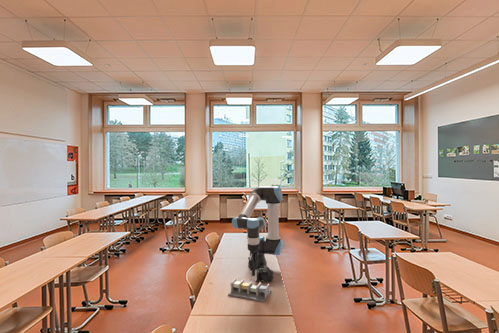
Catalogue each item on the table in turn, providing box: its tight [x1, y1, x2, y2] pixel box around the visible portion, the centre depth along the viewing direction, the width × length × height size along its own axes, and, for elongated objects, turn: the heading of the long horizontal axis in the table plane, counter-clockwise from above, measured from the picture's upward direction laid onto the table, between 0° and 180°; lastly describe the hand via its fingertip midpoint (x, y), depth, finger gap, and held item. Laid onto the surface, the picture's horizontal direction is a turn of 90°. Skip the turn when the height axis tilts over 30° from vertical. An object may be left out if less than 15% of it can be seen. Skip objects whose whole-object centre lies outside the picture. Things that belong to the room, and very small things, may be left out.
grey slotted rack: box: [227, 277, 272, 303], centre depth 164 cm, size 14×24×6 cm, turn 68°
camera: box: [255, 265, 274, 283], centre depth 182 cm, size 13×10×10 cm
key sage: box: [250, 284, 257, 292], centre depth 163 cm, size 4×4×2 cm
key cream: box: [233, 280, 241, 288], centre depth 167 cm, size 4×4×2 cm
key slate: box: [259, 284, 267, 293], centre depth 161 cm, size 4×4×2 cm
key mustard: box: [241, 281, 250, 289], centre depth 165 cm, size 4×4×2 cm
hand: (254, 280), depth 163 cm, fingers closed
